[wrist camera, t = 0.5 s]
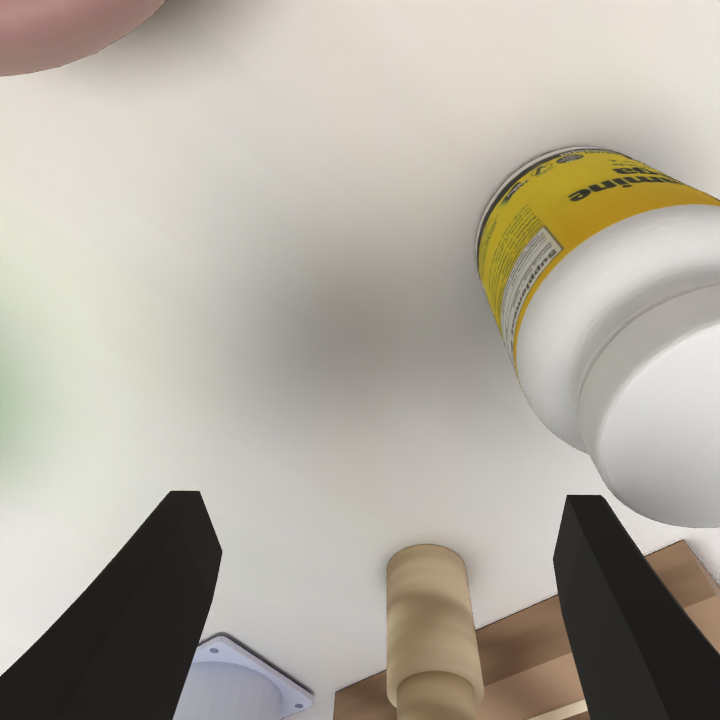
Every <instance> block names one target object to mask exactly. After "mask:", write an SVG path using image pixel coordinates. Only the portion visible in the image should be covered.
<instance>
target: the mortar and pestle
mask: <svg viewBox="0 0 720 720" xmlns="http://www.w3.org/2000/svg"><path fill="white" fill-rule="evenodd" d="M165 1H166V0H0V76H13V75H20V74H28V73H33V72H38V71H42V70H47V69H52V68H56V67H60V66H63V65H66V64H68V63H71V62H74V61H76V60H79V59H81V58H84V57H87V56H89V55H92V54H94V53H97V52H99V51H100V50H102V49H104V48H105V47H107V46H109V45H110V44H112V43H114V42H115V41H117V40H119V39H120V38H122V37H124V36H125V35H127V34H128V33H130V32H131V31H132V30H134V29H135V28H136V27H138V26H139V25H140V24H142V23H143V22H144V21H146V20H147V19H149V18H150V17H151V16H152V15H153V14H154V13H155V12H156V11H157V10H158V9H159V8H160V6H161V5H162V4H163V3H164V2H165Z"/></svg>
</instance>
